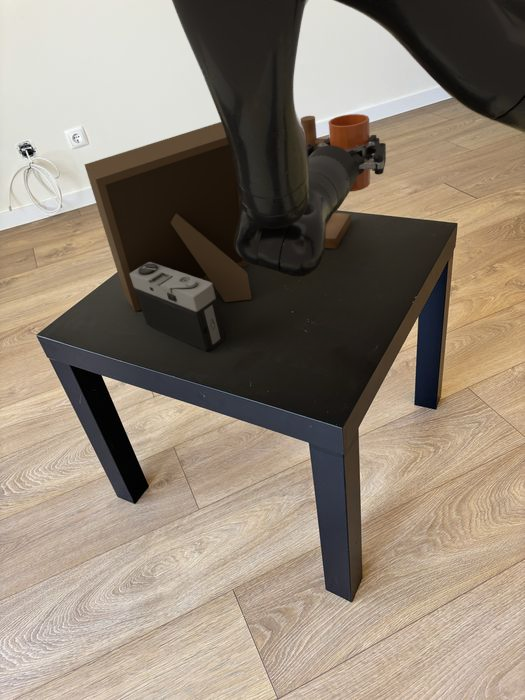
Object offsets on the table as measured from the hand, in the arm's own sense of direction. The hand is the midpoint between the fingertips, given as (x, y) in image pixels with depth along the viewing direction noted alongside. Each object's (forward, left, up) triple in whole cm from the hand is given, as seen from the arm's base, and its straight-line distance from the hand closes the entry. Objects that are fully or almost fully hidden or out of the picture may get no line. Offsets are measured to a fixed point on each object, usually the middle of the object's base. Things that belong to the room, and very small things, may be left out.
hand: (353, 141), depth 84 cm
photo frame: (+25, +15, -18) cm, 35 cm away
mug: (0, 0, -6) cm, 6 cm away
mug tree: (+5, -4, -18) cm, 19 cm away
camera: (+24, +24, -18) cm, 39 cm away
